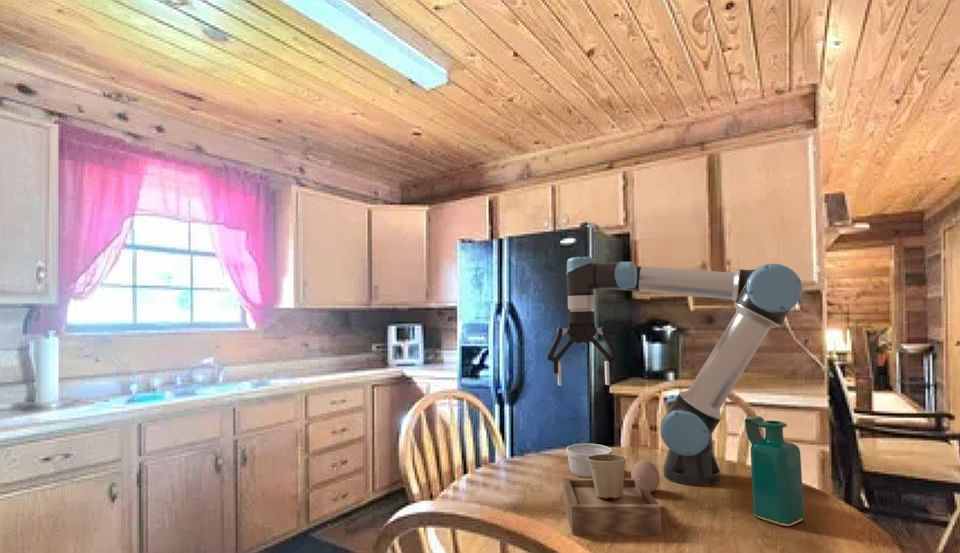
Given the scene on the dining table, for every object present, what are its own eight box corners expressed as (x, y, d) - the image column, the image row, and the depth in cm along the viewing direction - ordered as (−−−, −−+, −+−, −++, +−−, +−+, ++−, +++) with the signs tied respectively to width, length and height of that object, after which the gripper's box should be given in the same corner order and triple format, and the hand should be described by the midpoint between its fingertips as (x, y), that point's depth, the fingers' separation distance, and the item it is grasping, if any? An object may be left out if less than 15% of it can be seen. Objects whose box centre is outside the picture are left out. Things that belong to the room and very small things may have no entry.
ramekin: (605, 465, 164) (605, 442, 164) (618, 479, 151) (617, 454, 151) (563, 466, 163) (562, 443, 164) (572, 480, 150) (571, 455, 151)
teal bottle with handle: (807, 520, 120) (802, 421, 121) (787, 529, 115) (782, 426, 116) (765, 507, 128) (760, 414, 129) (744, 515, 123) (740, 419, 125)
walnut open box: (639, 504, 133) (638, 478, 133) (661, 537, 114) (660, 506, 114) (563, 504, 134) (562, 478, 134) (572, 537, 115) (571, 506, 115)
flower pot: (624, 502, 118) (621, 461, 119) (583, 498, 123) (580, 459, 124) (634, 492, 126) (631, 455, 128) (595, 489, 131) (593, 453, 132)
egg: (656, 499, 135) (654, 465, 135) (628, 494, 139) (627, 461, 139) (663, 490, 141) (661, 458, 141) (636, 486, 145) (635, 454, 145)
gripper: (622, 309, 156) (624, 382, 155) (537, 311, 157) (539, 383, 156) (627, 309, 149) (630, 386, 147) (538, 311, 150) (540, 387, 149)
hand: (583, 384), depth 152 cm, fingers open, 13 cm apart
